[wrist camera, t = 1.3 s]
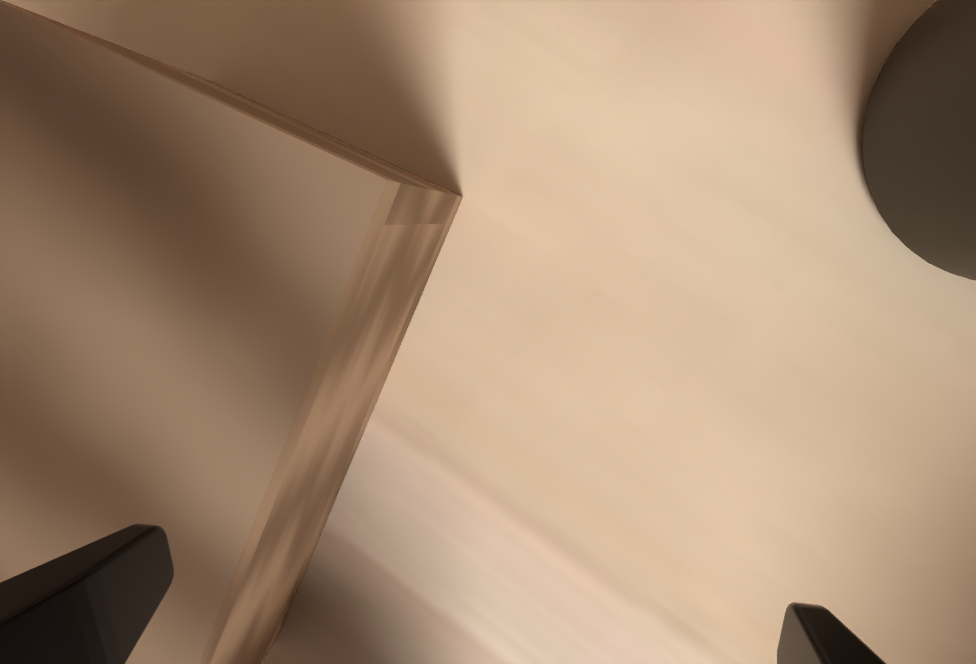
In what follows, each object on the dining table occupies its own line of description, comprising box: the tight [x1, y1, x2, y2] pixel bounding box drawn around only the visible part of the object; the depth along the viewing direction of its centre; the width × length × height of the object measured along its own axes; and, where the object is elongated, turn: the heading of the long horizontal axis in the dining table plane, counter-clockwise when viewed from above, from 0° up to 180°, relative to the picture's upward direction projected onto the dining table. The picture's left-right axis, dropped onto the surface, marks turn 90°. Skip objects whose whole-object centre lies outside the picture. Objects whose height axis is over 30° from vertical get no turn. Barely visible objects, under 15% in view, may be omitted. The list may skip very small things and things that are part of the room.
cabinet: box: [0, 0, 463, 664], centre depth 19 cm, size 20×10×9 cm, turn 156°
